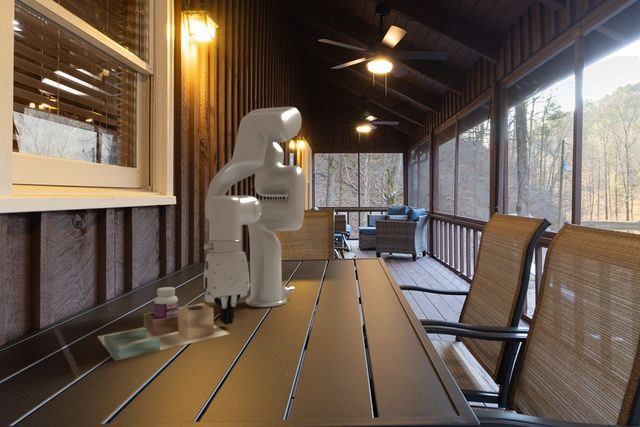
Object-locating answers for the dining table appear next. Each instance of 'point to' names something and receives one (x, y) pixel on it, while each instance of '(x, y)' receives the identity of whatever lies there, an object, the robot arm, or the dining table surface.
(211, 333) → the oak block
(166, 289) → the pill bottle
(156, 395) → the dining table surface
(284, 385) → the dining table surface
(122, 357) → the board
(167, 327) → the walnut ring block
